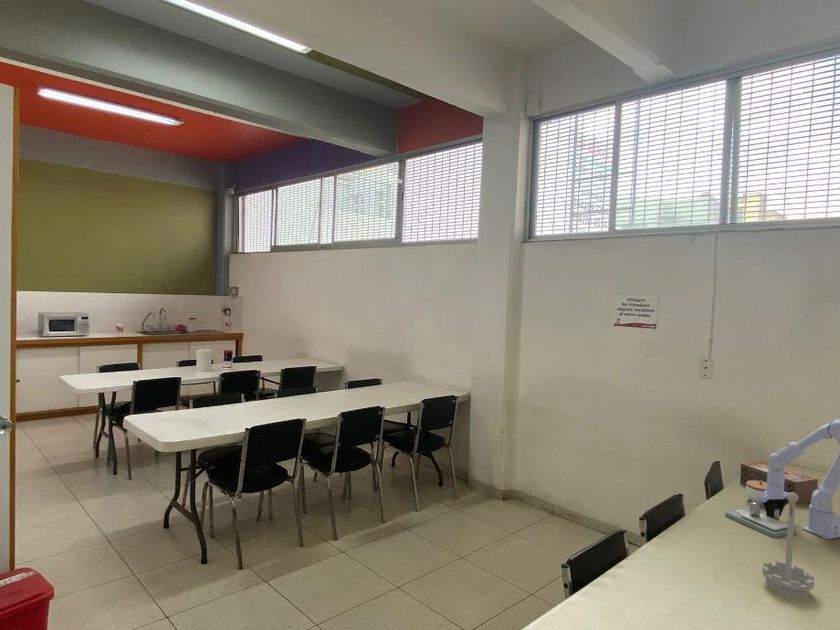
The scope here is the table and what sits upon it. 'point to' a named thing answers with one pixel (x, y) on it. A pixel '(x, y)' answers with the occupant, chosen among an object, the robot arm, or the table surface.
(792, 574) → the flag stand
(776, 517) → the cylinder
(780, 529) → the scale
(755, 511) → the cylinder
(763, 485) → the lidded jar
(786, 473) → the tissue box cover
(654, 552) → the table surface
